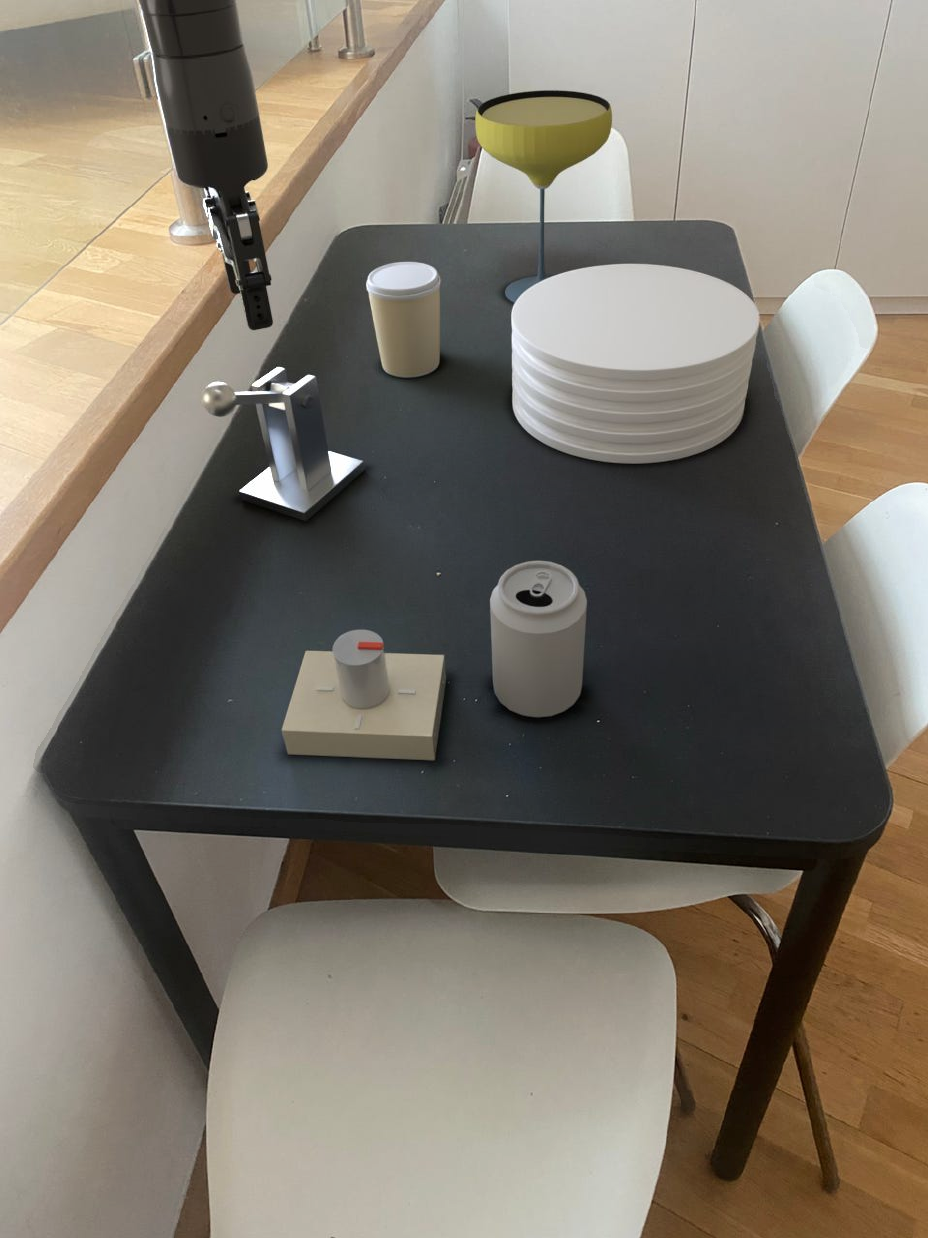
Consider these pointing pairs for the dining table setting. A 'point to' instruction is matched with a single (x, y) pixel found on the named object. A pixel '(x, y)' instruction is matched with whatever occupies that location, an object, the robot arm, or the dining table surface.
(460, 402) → the dining table surface
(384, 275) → the coffee cup
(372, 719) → the panel
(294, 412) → the tap bracket
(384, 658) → the dial
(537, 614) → the can
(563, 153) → the cocktail glass
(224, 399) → the tap lever
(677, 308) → the plate stack
